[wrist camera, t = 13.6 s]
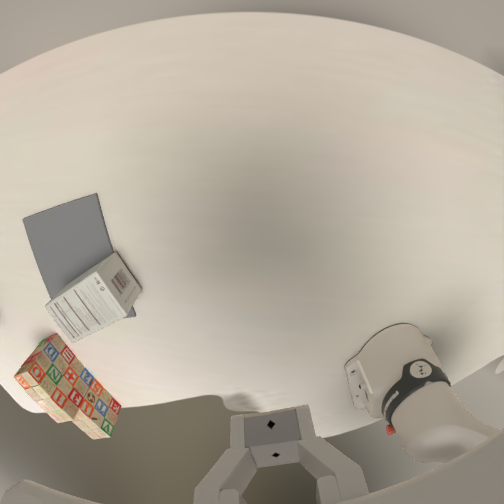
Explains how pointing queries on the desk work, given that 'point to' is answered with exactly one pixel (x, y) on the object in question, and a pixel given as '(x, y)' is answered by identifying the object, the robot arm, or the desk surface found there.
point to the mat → (69, 241)
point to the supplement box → (94, 299)
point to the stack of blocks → (67, 389)
